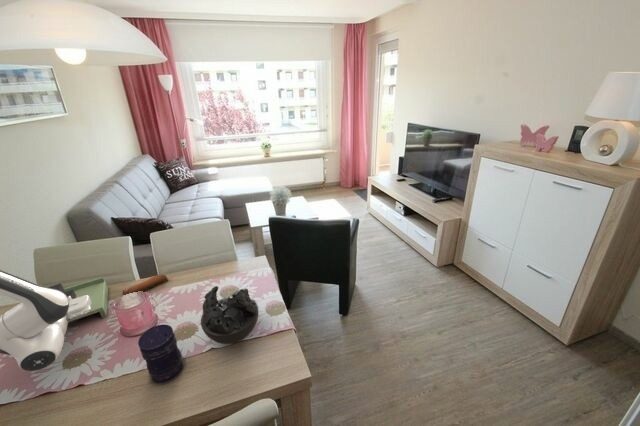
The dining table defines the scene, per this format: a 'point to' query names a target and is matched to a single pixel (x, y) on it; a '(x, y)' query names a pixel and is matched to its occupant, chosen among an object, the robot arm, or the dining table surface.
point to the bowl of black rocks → (229, 316)
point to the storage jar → (161, 353)
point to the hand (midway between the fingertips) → (56, 301)
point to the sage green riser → (93, 295)
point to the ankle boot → (68, 293)
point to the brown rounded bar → (145, 284)
